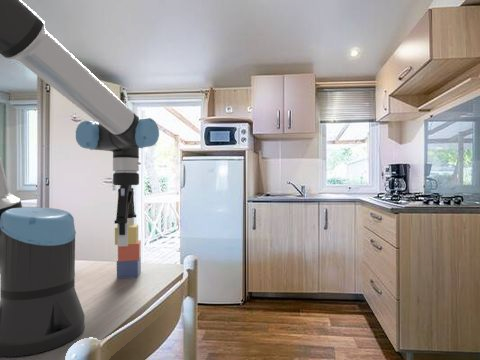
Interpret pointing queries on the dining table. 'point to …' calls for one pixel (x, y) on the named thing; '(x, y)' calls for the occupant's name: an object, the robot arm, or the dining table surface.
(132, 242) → the mustard brick
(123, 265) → the blue cube
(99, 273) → the dining table surface
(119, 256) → the red brick
